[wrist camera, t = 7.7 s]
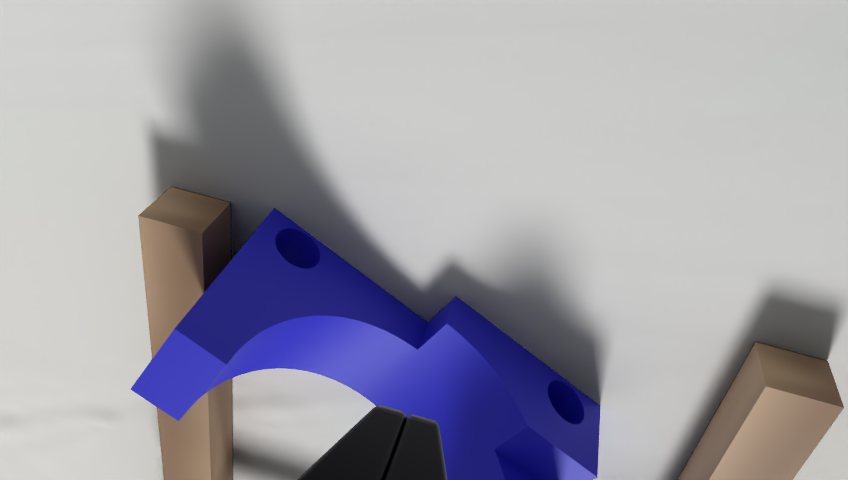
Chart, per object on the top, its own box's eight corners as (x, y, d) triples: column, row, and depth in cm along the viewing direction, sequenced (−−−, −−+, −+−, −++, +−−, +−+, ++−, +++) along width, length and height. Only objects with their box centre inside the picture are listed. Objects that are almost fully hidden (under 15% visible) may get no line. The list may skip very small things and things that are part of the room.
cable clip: (600, 402, 23) (593, 571, 18) (510, 461, 25) (482, 624, 20) (300, 173, 21) (199, 293, 16) (234, 262, 23) (130, 389, 18)
